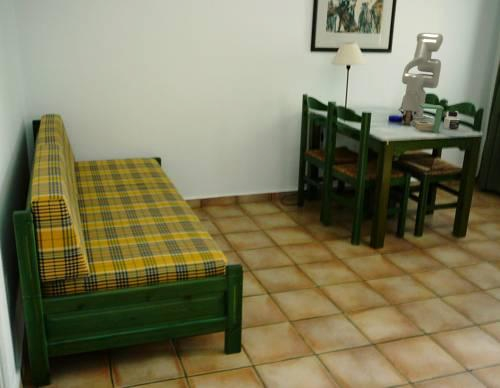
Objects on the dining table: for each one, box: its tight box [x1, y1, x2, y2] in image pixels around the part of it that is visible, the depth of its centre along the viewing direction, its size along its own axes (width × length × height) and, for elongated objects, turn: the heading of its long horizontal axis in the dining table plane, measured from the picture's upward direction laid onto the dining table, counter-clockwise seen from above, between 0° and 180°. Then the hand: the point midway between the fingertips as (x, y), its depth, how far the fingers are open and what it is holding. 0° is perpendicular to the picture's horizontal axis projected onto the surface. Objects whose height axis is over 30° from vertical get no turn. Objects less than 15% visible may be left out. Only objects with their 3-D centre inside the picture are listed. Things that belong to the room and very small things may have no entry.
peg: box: [403, 111, 412, 126], centre depth 355 cm, size 4×4×10 cm
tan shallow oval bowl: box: [412, 120, 434, 132], centre depth 347 cm, size 14×10×4 cm
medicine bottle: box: [442, 110, 461, 131], centre depth 349 cm, size 7×7×12 cm
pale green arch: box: [419, 104, 445, 134], centre depth 337 cm, size 10×13×16 cm
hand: (407, 120), depth 356 cm, fingers closed on peg, 4 cm apart
